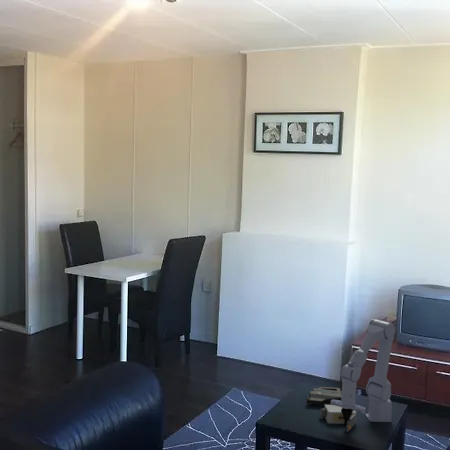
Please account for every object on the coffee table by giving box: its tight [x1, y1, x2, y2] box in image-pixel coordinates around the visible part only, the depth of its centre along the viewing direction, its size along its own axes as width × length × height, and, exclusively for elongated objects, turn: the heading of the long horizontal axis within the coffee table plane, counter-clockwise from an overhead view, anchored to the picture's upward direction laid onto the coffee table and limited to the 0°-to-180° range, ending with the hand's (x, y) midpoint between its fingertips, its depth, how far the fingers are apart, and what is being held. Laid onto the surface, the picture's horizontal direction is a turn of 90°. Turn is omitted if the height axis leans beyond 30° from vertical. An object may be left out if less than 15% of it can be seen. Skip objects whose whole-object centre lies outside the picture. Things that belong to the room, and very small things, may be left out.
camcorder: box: [306, 386, 342, 406], centre depth 284 cm, size 16×20×5 cm
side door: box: [345, 413, 357, 433], centre depth 254 cm, size 10×2×4 cm, turn 151°
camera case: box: [319, 405, 357, 425], centre depth 263 cm, size 14×8×5 cm, turn 93°
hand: (346, 425), depth 253 cm, fingers closed
